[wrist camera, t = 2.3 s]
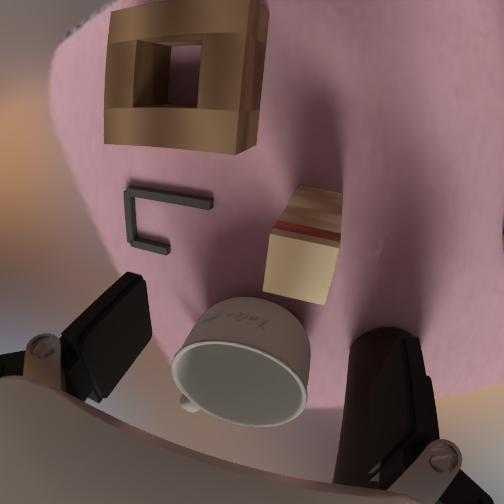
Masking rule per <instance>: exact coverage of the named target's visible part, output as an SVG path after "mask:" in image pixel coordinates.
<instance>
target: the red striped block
mask: <svg viewBox="0 0 504 504" xmlns="http://www.w3.org/2000/svg"><path fill="white" fill-rule="evenodd" d="M342 202H343V194H342V193H338V192H333V191H328V190H323V189H318V188H313V187H308V186H303V185H298V187H297V189H296V191H295V192H294V194H293V196H292V197H291V199H290V201H289V202H288V204H287V206H286V208H285V209H284V211H283V213H282V214H281V216H280V218H279V219H278V220H277V222H276V223H275V225H274V227H273V230H272V231H271V233H270V238H269V246H268V254H267V261H266V269H265V277H264V284H263V291H264V292H268V293H273V294H277V295H281V296H285V297H290V298H294V299H298V300H303V301H307V302H312V303H316V304H321V305H325V302H326V299H327V295H328V291H329V287H330V284H331V280H332V276H333V272H334V268H335V264H336V260H337V256H338V252H339V245H340V239H341V218H342Z"/></svg>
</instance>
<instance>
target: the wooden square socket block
mask: <svg viewBox="0 0 504 504" xmlns="http://www.w3.org/2000/svg"><path fill="white" fill-rule="evenodd" d="M268 20H269V12H268V11H267V10H266V9H265V8H264V7H263V6H262V5H261V4H260V2H259V1H258V0H166V1H160V2H154V3H149V4H144V5H139V6H134V7H130V8H125V9H121V10H117V11H113V12H111V17H110V26H109V34H108V45H107V56H106V71H105V92H104V144H117V145H135V146H150V147H163V148H175V149H186V150H196V151H205V152H214V153H222V154H230V155H237V154H239V153H241V152H243V151H245V150H247V149H249V148H251V147H253V146H255V145H256V140H257V130H258V120H259V110H260V100H261V89H262V79H263V69H264V60H265V50H266V40H267V30H268ZM182 45H202V53H201V64H200V76H199V89H198V103H197V105H182V104H167V95H168V79H169V66H170V54H171V46H182Z"/></svg>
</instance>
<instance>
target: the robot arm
mask: <svg viewBox="0 0 504 504" xmlns="http://www.w3.org/2000/svg"><path fill="white" fill-rule="evenodd" d="M503 246H504V236H503ZM61 334H62V336H61V337H60V338H58V337H57V336H55V335H54V334H50V333H43V334H39V335H37V336H35V337H34V338H32V339H31V340H30V341H29V343H28V344H27V347H26V350H25V351H20V352H14V353H8V354H2V355H0V504H494V502H493V500H492V498H491V497H490V496H489V495H488V494H487V493H486V492H485V491H484V490H482V489H481V488H480V487H479V486H478V485H477V484H476V483H475V482H474V481H473V480H471V479H470V478H469V477H468V476H467V475H466V474H465V473H464V472H463V471H462V470H461V469H460V467H461V465H462V455H461V452H460V450H459V448H458V447H457V446H456V445H455V444H454V443H452V442H451V441H448V440H445V439H440V437H439V429H438V421H437V413H436V406H435V399H434V392H433V386H432V381H431V378H430V377H429V376H426V371H425V366H424V360H423V355H422V350H421V345H420V341H419V338H418V337H412V336H406V335H403V336H402V337H401V339H399V338H397V339H396V341H395V343H394V345H393V347H392V349H391V351H390V353H389V355H388V357H387V359H386V361H385V362H384V364H383V366H382V368H381V370H380V372H379V374H378V376H377V378H376V379H375V381H374V383H373V385H372V387H371V390H370V396H369V430H368V449H367V463H366V472H367V473H370V480H369V481H379V486H378V487H379V488H380V489H371V488H364V487H356V486H347V485H339V484H332V483H325V482H319V481H313V480H307V479H302V478H296V477H291V476H286V475H281V474H276V473H272V472H268V471H263V470H259V469H255V468H251V467H248V466H244V465H240V464H237V463H233V462H229V461H226V460H222V459H219V458H216V457H213V456H209V455H206V454H204V453H200V452H198V451H195V450H192V449H189V448H186V447H183V446H181V445H178V444H175V443H173V442H170V441H168V440H165V439H163V438H160V437H158V436H155V435H153V434H150V433H148V432H146V431H143V430H141V429H139V428H136V427H134V426H131V425H130V424H128V423H125V422H123V421H121V420H119V419H117V418H115V417H113V416H111V415H109V414H107V413H105V412H103V411H101V410H99V409H96V408H95V407H92V406H91V405H89V404H87V403H85V400H86V399H87V398H90V399H92V400H94V401H95V402H97V403H100V402H101V400H102V399H103V398H107V397H108V396H109V395H110V393H111V392H112V391H113V389H114V387H115V386H116V385H117V384H118V382H119V381H120V379H121V378H122V377H123V376H124V374H125V373H126V372H127V370H128V369H129V368H130V366H131V365H132V364H133V362H134V361H135V359H136V358H137V357H138V355H139V354H140V353H141V351H142V350H143V349H144V348H145V346H146V345H147V344H148V342H149V341H150V339H151V337H152V326H151V319H150V312H149V304H148V295H147V287H146V281H145V280H143V277H142V276H141V275H139V274H135V273H132V272H126V273H125V274H124V275H123V276H122V277H120V278H119V279H118V280H117V281H116V282H115V283H114V284H113V285H112V286H111V287H109V288H108V289H107V290H106V291H105V292H104V293H103V294H102V295H101V296H100V297H99V298H98V299H97V300H96V301H94V302H93V303H92V304H91V305H90V306H89V307H88V308H87V309H86V310H85V311H84V312H83V313H82V314H81V315H80V316H79V317H78V318H77V319H75V320H74V322H72V323H71V324H70V325H69V326H68V327H67V328H66V329H65V330H64V331H63V332H62V333H61Z"/></svg>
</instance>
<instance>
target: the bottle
mask: <svg viewBox="0 0 504 504" xmlns="http://www.w3.org/2000/svg"><path fill="white" fill-rule="evenodd" d="M403 335H406V336H412V335H411V334H410V333H408V332H406V331H404V330H402V329H397V328H392V327H390V328H379V329H376V330H373V331H370V332H368V333H366V334H364V335H363V336H361V337H360V338H359V339H358V340H357V341H356V342H355V343H354V344H353V346H352V348H351V351H350V353H349V362H348V374H347V384H346V394H345V403H344V411H343V420H342V427H341V434H340V441H339V448H338V454H337V461H336V466H335V472H334V478H333V483H332V484H339V485H347V486H356V487H364V488H371V489H380V488H379V487H378V486H379V481H369V480H370V473H367V472H366V463H367V449H368V430H369V396H370V390H371V387H372V385H373V383H374V381H375V379H376V378H377V376H378V374H379V372H380V370H381V368H382V366H383V364H384V362H385V361H386V359H387V357H388V355H389V353H390V351H391V349H392V347H393V345H394V343H395V341H396V339H397V338H399V339H401V337H402V336H403ZM412 337H413V336H412Z"/></svg>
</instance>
